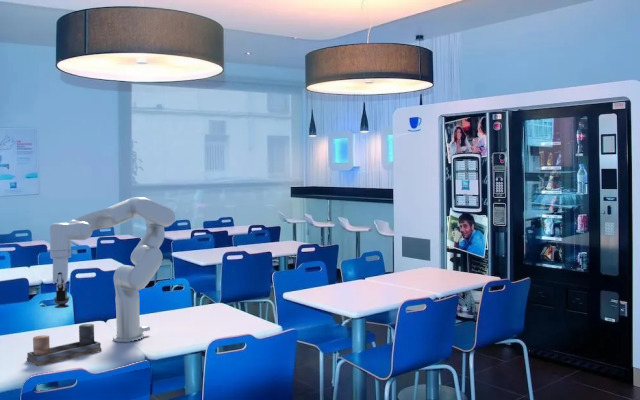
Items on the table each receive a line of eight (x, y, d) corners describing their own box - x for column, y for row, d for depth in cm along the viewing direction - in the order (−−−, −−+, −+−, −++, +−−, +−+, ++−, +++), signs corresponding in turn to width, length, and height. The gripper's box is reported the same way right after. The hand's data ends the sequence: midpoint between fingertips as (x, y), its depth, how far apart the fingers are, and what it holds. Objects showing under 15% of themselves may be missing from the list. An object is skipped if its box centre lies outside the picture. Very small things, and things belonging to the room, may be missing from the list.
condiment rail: (89, 346, 249) (88, 322, 249) (101, 351, 243) (100, 325, 242) (26, 360, 231) (26, 334, 230) (38, 366, 224) (37, 338, 224)
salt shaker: (65, 308, 237) (65, 277, 237) (51, 308, 237) (50, 277, 237) (72, 305, 243) (71, 275, 243) (58, 305, 243) (57, 275, 243)
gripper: (52, 252, 246) (53, 296, 247) (48, 257, 230) (49, 304, 231) (72, 251, 249) (73, 294, 249) (69, 256, 232) (70, 302, 233)
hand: (61, 298), depth 240 cm, fingers closed on salt shaker, 5 cm apart
